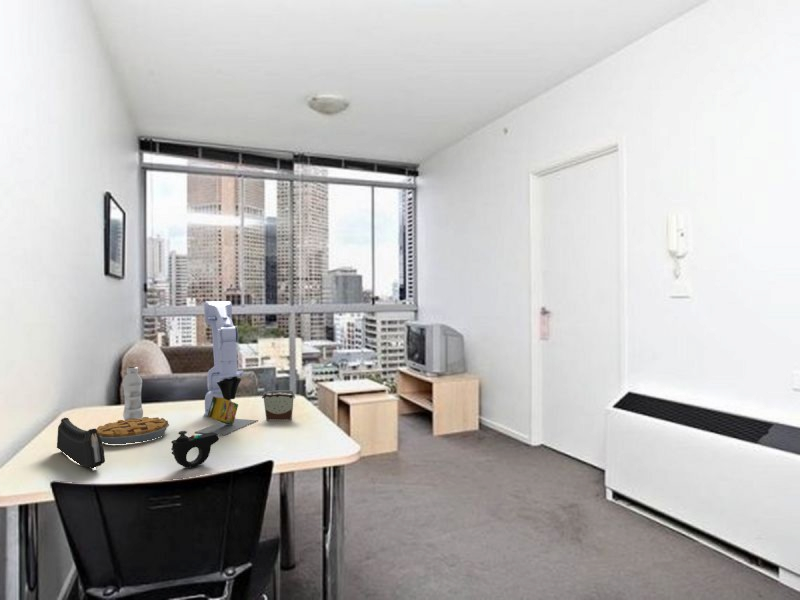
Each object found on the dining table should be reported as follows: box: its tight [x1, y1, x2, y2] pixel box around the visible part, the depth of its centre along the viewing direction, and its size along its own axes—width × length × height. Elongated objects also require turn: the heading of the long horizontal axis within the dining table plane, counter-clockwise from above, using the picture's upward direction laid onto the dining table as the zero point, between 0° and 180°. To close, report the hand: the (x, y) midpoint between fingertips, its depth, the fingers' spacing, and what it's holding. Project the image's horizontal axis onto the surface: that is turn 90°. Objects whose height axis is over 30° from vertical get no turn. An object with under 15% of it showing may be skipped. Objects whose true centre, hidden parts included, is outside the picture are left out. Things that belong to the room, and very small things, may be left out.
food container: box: [261, 389, 296, 421], centre depth 187 cm, size 12×6×10 cm, turn 84°
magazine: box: [56, 417, 106, 469], centre depth 142 cm, size 17×3×30 cm
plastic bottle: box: [122, 366, 144, 421], centre depth 186 cm, size 6×7×20 cm
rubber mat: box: [194, 418, 259, 436], centre depth 176 cm, size 12×19×1 cm, turn 162°
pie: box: [96, 416, 170, 444], centre depth 165 cm, size 22×22×5 cm
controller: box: [170, 430, 220, 469], centre depth 136 cm, size 4×12×10 cm, turn 136°
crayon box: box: [206, 396, 239, 425], centre depth 174 cm, size 7×3×12 cm
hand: (229, 399), depth 177 cm, fingers closed
